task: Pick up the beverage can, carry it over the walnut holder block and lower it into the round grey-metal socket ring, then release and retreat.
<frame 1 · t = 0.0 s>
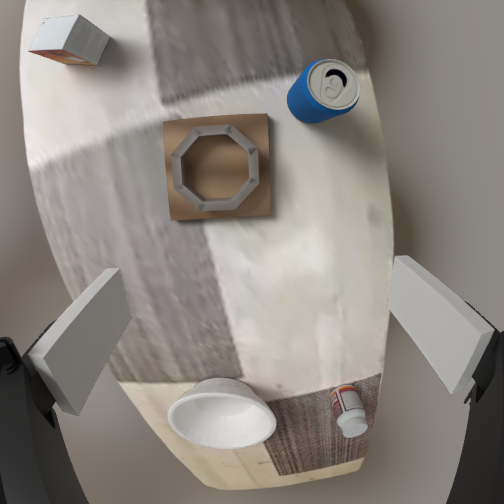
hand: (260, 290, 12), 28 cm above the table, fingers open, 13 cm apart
socket: (217, 166, 37), on the table
small box: (86, 50, 29), on the table
bowl: (223, 395, 53), on the table
pill bottle: (342, 391, 54), on the table
beverage can: (308, 102, 34), on the table
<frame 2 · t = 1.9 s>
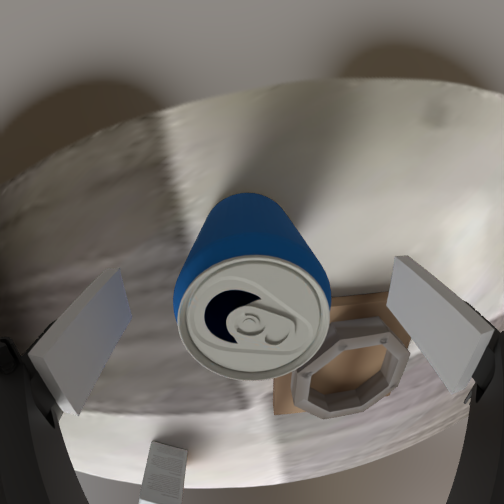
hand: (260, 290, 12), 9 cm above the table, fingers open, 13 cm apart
socket: (342, 355, 26), on the table
small box: (167, 453, 33), on the table
beverage can: (247, 233, 21), on the table
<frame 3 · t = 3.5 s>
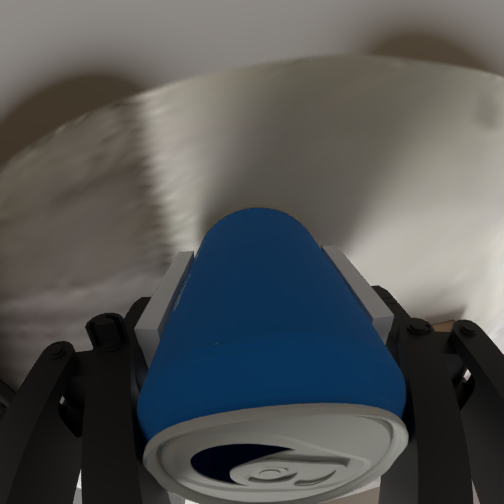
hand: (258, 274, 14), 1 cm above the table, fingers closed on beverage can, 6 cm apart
small box: (164, 482, 27), on the table
beverage can: (257, 261, 16), on the table, touching gripper
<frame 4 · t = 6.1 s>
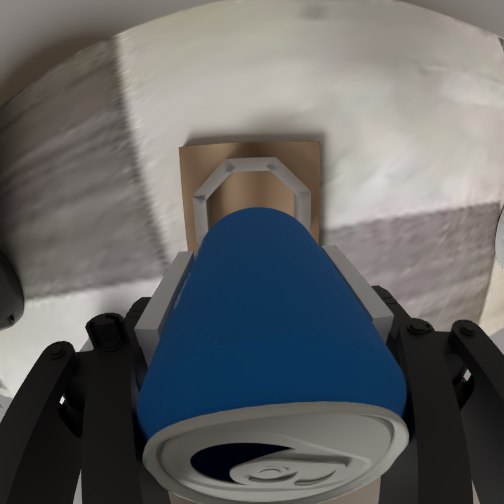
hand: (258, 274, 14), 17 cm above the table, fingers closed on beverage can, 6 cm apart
socket: (251, 208, 30), on the table
beverage can: (257, 260, 16), point 15 cm above the table, touching gripper
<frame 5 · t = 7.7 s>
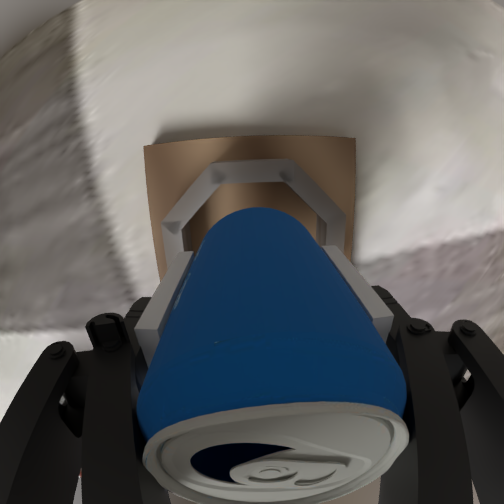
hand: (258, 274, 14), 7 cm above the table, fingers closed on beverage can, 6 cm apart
socket: (253, 234, 20), on the table
beverage can: (257, 260, 16), point 5 cm above the table, touching gripper
when the fingers open (5 cm above the table, at t = 8.8 s): beverage can drops 2 cm, resting on socket.
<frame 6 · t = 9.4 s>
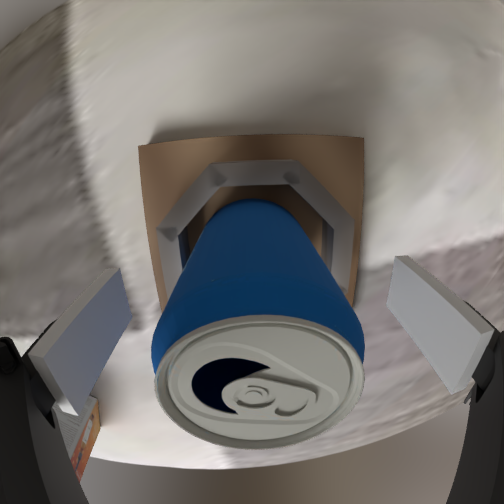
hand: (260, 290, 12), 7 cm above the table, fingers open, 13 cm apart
socket: (255, 240, 19), on the table
small box: (81, 404, 27), on the table
beverage can: (252, 245, 18), point 1 cm above the table, touching socket
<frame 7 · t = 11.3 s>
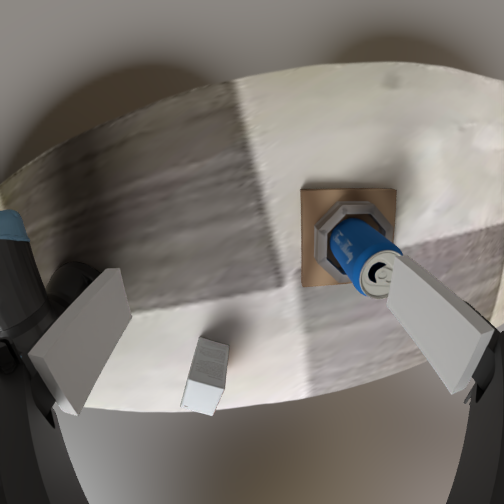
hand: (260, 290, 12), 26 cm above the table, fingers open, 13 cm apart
socket: (347, 236, 39), on the table
small box: (209, 355, 47), on the table
beverage can: (349, 238, 38), point 1 cm above the table, touching socket
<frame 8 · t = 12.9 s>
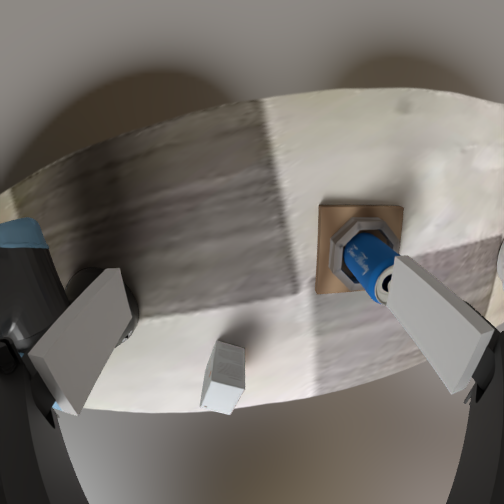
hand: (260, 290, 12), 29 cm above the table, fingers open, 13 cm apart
socket: (358, 248, 43), on the table
small box: (224, 357, 50), on the table
beverage can: (360, 250, 41), point 1 cm above the table, touching socket
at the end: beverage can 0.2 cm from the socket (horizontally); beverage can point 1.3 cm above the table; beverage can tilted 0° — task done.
